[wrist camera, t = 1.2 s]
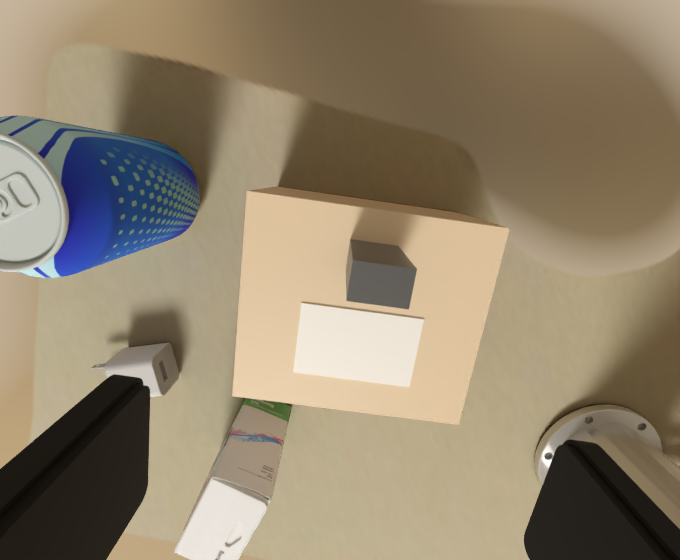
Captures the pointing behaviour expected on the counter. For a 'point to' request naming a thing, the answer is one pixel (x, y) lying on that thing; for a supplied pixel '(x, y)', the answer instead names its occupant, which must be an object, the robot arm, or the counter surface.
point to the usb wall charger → (146, 366)
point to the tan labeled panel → (361, 307)
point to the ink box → (237, 484)
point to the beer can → (86, 196)
